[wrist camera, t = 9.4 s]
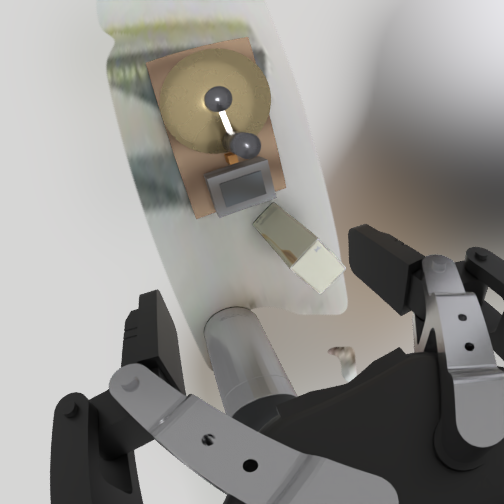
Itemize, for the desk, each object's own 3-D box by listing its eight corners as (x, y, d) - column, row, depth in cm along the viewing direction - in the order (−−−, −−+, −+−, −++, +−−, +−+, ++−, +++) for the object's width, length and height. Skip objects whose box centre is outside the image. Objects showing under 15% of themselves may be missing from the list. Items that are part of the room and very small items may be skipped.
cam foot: (278, 131, 32) (309, 136, 26) (184, 170, 31) (191, 185, 25) (244, 40, 26) (268, 20, 19) (144, 75, 25) (138, 62, 18)
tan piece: (281, 185, 38) (296, 194, 34) (195, 215, 36) (199, 228, 32) (244, 39, 28) (256, 29, 24) (146, 65, 26) (143, 56, 22)
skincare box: (251, 224, 39) (286, 267, 28) (273, 200, 38) (317, 235, 28) (281, 250, 42) (321, 297, 32) (301, 228, 41) (348, 269, 31)
